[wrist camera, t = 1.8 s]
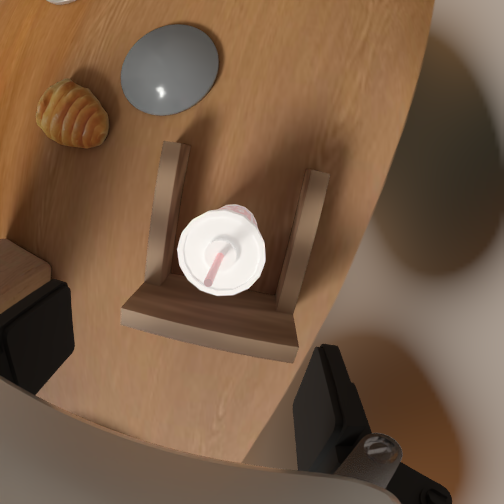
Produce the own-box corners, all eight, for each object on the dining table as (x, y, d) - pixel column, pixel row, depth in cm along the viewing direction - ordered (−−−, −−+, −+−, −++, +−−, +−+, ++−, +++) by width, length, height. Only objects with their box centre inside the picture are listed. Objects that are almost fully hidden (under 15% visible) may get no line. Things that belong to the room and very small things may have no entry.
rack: (175, 143, 27) (138, 136, 19) (322, 172, 28) (347, 177, 19) (154, 283, 31) (120, 324, 23) (286, 312, 32) (293, 363, 23)
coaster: (137, 26, 23) (135, 24, 23) (229, 30, 24) (228, 28, 23) (113, 112, 26) (111, 111, 26) (206, 121, 27) (205, 120, 26)
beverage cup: (189, 222, 29) (131, 270, 16) (238, 182, 28) (216, 200, 15) (228, 270, 31) (203, 350, 17) (278, 233, 29) (290, 294, 16)
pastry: (126, 107, 26) (108, 102, 23) (96, 164, 28) (76, 166, 25) (69, 77, 25) (50, 71, 22) (43, 129, 27) (23, 128, 23)
